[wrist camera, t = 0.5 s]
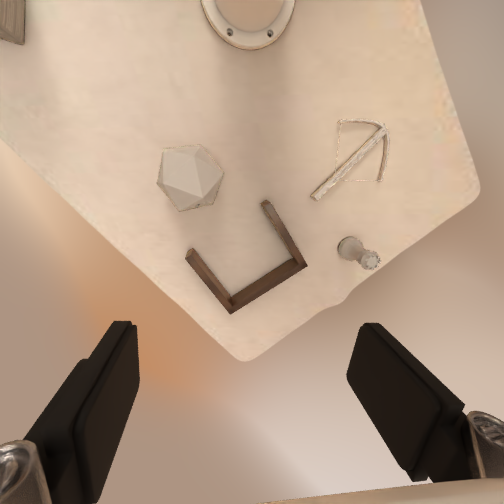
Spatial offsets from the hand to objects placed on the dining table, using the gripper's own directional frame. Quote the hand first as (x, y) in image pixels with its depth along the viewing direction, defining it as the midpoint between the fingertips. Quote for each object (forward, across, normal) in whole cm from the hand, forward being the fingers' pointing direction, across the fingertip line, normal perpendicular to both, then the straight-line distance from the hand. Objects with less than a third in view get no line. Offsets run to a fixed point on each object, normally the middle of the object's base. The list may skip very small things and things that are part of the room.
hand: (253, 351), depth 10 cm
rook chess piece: (+33, -24, +5) cm, 41 cm away
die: (+33, +6, -5) cm, 34 cm away
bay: (+33, -4, +7) cm, 34 cm away
